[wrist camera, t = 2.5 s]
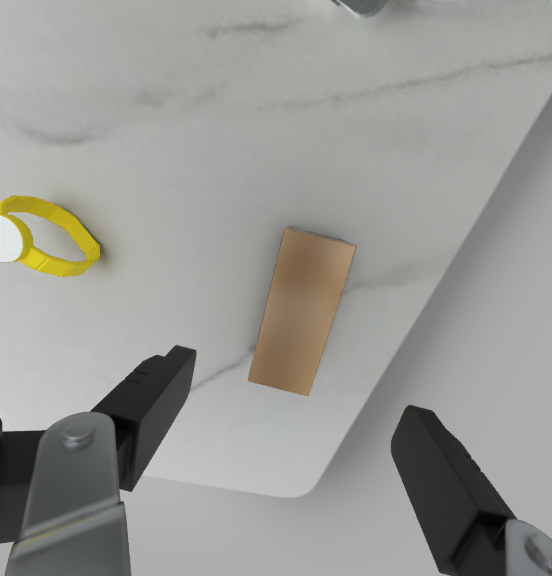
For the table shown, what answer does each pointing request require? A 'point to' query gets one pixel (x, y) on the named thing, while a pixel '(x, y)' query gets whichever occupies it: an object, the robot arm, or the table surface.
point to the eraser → (300, 309)
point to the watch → (19, 242)
